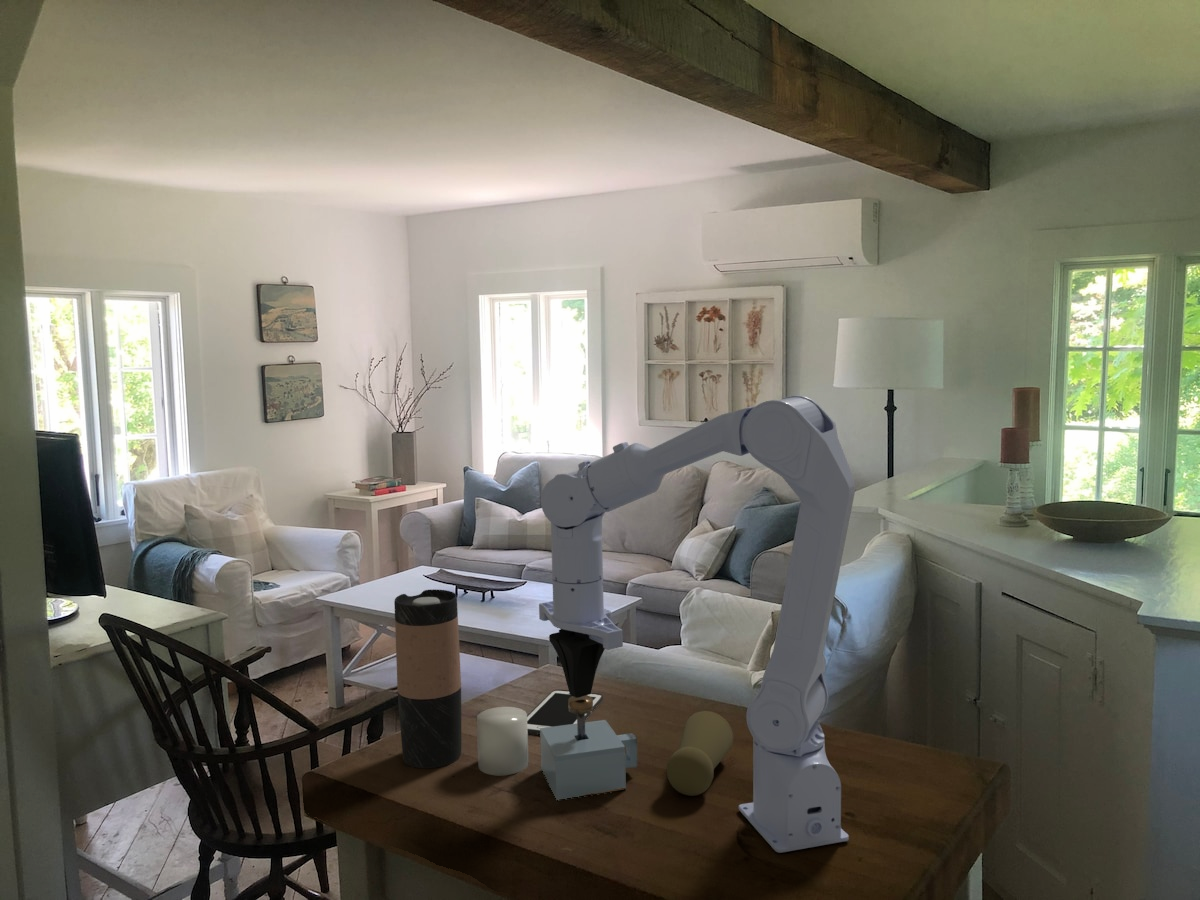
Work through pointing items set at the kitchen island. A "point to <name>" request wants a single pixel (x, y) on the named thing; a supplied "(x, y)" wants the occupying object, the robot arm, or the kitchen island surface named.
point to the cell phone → (555, 711)
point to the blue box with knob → (586, 759)
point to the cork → (699, 752)
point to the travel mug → (428, 677)
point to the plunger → (580, 712)
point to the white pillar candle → (502, 740)
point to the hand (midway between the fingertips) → (580, 694)
